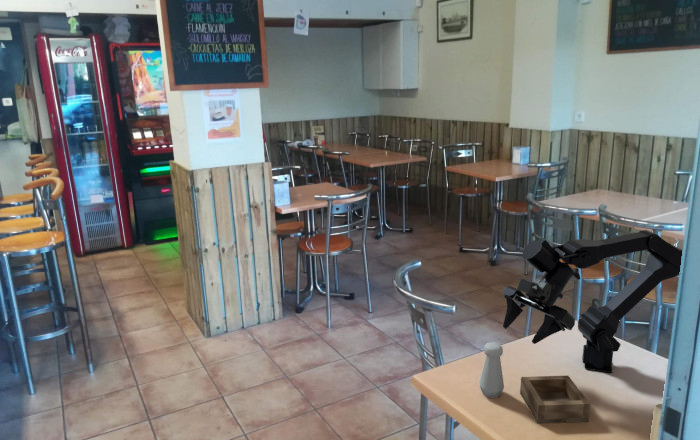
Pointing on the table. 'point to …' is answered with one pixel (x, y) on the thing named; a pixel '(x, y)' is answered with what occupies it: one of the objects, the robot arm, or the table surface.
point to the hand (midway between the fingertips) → (518, 335)
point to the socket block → (554, 399)
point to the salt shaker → (492, 371)
